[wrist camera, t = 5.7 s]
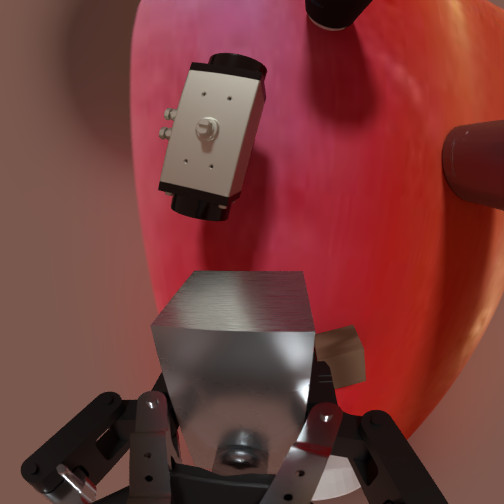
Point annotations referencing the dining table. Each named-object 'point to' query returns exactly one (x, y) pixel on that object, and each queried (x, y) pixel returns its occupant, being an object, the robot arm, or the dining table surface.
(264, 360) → the block
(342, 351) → the walnut block
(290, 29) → the dining table surface
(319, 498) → the cup
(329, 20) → the dixie cup
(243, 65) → the pneumatic valve
